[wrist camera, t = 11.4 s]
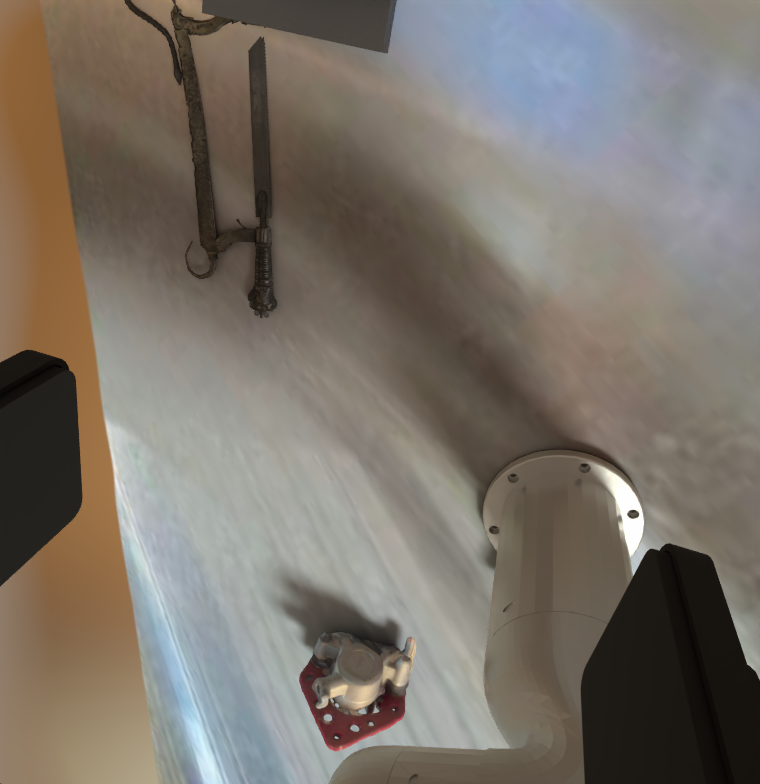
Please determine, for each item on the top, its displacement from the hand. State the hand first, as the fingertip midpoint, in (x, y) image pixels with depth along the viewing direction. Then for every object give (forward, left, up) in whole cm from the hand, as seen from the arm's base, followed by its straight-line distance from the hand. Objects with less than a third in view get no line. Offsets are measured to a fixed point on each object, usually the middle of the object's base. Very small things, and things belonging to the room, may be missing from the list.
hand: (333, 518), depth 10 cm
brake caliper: (-48, +1, -37) cm, 60 cm away
